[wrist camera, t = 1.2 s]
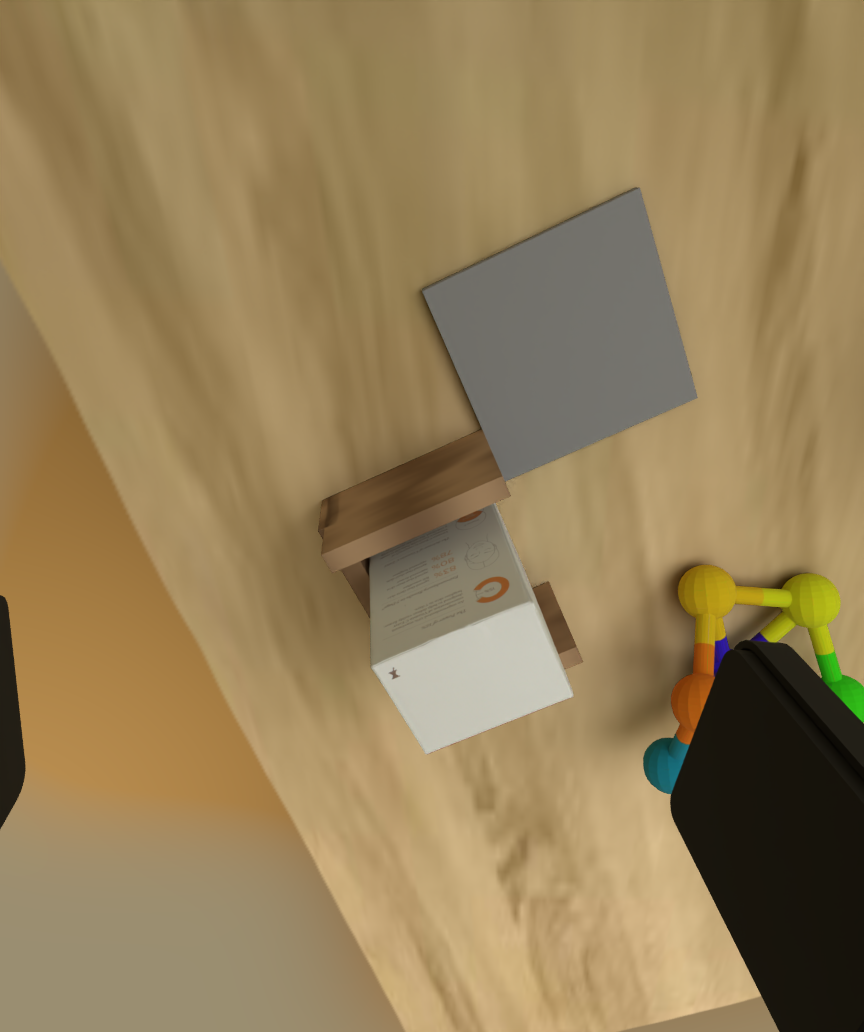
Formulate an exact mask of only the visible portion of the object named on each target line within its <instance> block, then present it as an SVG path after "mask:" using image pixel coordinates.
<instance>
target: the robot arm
mask: <svg viewBox="0 0 864 1032" xmlns="http://www.w3.org/2000/svg"><path fill="white" fill-rule="evenodd" d="M24 777H25V757H24V749H23V739H22V730H21V721H20V711H19V702H18V693H17V684H16V675H15V665H14V656H13V648H12V638H11V628H10V619H9V610H8V604H7V601H6V599H5V597H3V596H1V595H0V829H1V827H2V825H3V823H4V822H5V820H6V818H7V816H8V815H9V813H10V811H11V809H12V808H13V806H14V804H15V802H16V800H17V798H18V796H19V794H20V792H21V789H22V786H23V782H24ZM670 805H671V813H672V817H673V820H674V822H675V824H676V826H677V828H678V830H679V832H680V834H681V836H682V838H683V840H684V842H685V844H686V846H687V848H688V850H689V852H690V854H691V856H692V858H693V860H694V862H695V864H696V866H697V868H698V870H699V872H700V874H701V876H702V878H703V880H704V882H705V884H706V886H707V888H708V890H709V892H710V894H711V896H712V898H713V900H714V902H715V904H716V906H717V908H718V910H719V912H720V914H721V916H722V918H723V920H724V922H725V924H726V926H727V928H728V930H729V932H730V934H731V936H732V938H733V940H734V942H735V944H736V946H737V948H738V950H739V952H740V954H741V956H742V958H743V960H744V962H745V964H746V966H747V968H748V970H749V972H750V974H751V976H752V978H753V980H754V982H755V984H756V986H757V988H758V990H759V992H760V994H761V996H762V998H763V1000H764V1002H765V1004H766V1006H767V1008H768V1010H769V1012H770V1014H771V1016H772V1018H773V1020H774V1022H775V1023H776V1026H777V1028H778V1030H779V1032H864V723H863V722H862V721H861V720H860V719H859V718H858V717H857V716H856V715H855V714H854V713H853V712H852V711H851V710H850V709H849V708H848V707H847V705H846V704H845V703H844V702H843V701H842V700H841V699H840V698H839V697H838V696H837V695H836V694H835V693H834V692H833V691H832V690H831V689H830V688H829V687H828V685H827V684H826V683H825V682H824V681H823V680H822V679H821V678H820V677H819V676H818V675H817V674H816V673H815V672H814V671H813V670H812V669H811V668H810V667H809V665H808V664H807V663H806V662H805V661H804V660H803V659H802V658H801V657H800V656H799V655H798V654H797V653H796V652H795V651H794V650H793V649H792V648H791V647H790V646H788V645H787V644H784V643H777V642H764V641H751V640H744V641H741V642H739V643H738V644H737V645H736V646H735V648H734V650H729V651H727V652H726V653H725V654H724V656H723V658H722V660H721V663H720V666H719V668H718V671H717V673H716V676H715V679H714V681H713V684H712V687H711V689H710V692H709V695H708V697H707V700H706V703H705V705H704V708H703V711H702V713H701V716H700V719H699V721H698V724H697V726H696V729H695V732H694V734H693V737H692V740H691V742H690V745H689V748H688V750H687V753H686V756H685V758H684V761H683V764H682V766H681V769H680V772H679V774H678V777H677V779H676V782H675V785H674V787H673V790H672V794H671V800H670Z"/></svg>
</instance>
